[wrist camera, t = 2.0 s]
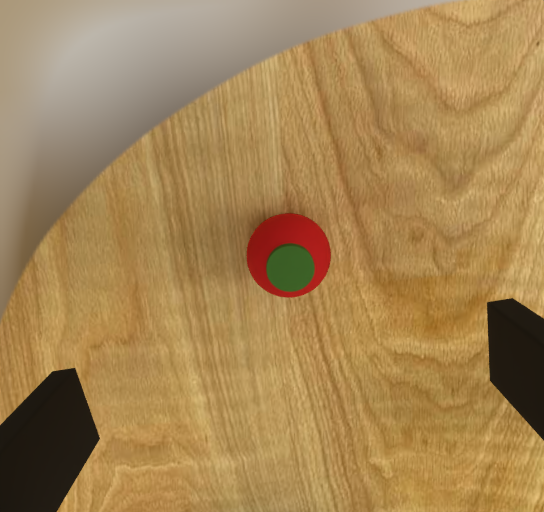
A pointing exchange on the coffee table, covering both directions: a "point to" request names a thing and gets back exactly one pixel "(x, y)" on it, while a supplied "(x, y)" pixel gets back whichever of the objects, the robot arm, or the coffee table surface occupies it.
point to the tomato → (288, 255)
